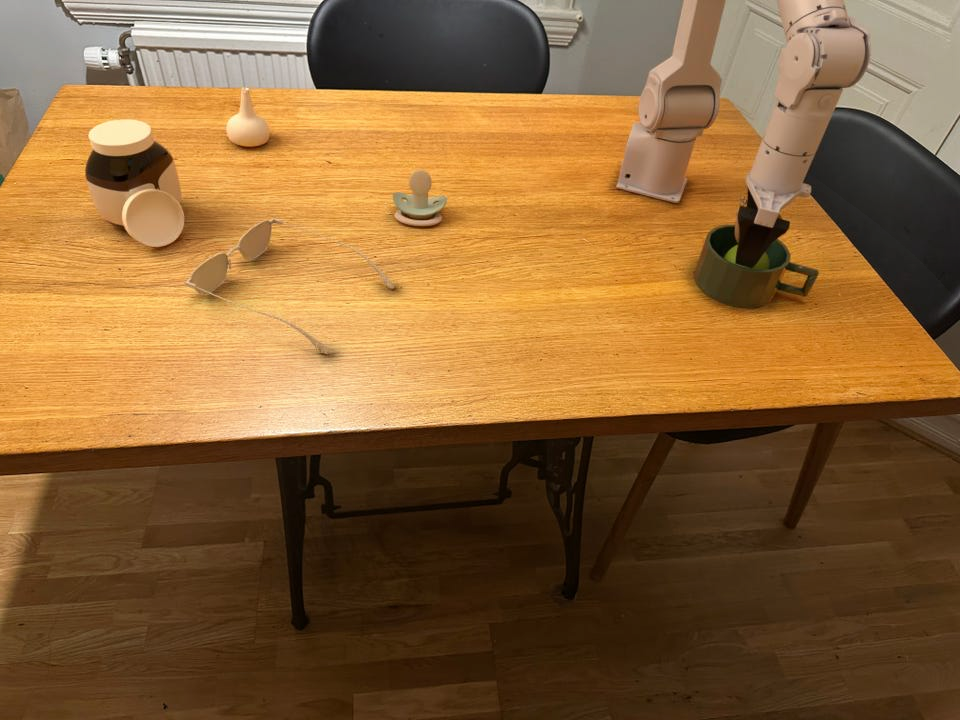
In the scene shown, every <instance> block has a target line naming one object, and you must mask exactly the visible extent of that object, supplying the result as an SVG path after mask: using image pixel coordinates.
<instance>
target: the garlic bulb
mask: <svg viewBox="0 0 960 720" xmlns="http://www.w3.org/2000/svg"><path fill="white" fill-rule="evenodd" d="M240 91H241V93H240V104H239V111H238V113H237V114H234V115H233V116H231V117H230V118H229V119H228V121H227V122H226V126H225V131H226V136H227V138H228V139H229V140H230V141H231V142H232V143H233V144H235V145H238V146H241V147H252V148H253V147H260V146H262V145H264V144H266V143H267V142H268V141H269V140H270V136H271V135H270V134H271V132H270V126H269V125H268V123H267V121H266V120H265V119H264V118H263V117H261V116H260V115H258V114H256V112H255V110H254V107H253V102H252V98H251V94H250V88H247V87H241V89H240Z"/></svg>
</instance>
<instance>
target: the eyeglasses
mask: <svg viewBox="0 0 960 720" xmlns="http://www.w3.org/2000/svg"><path fill="white" fill-rule="evenodd" d="M274 224H277V225H280V226H283V225H285V226H288V227H291V228H295V229H298V230H301V231H304V232H308V233H310V234H314V235H316V236H318V237H321V238H325V239H327V240H330V241H333V242H336V243H337V244H340V245H342V246H344V247H347V248H348V249H351V250H353V251H354V252H356V253H357V254H358V255H359V256H361V257H362V258H364V259H365V260H366V261H367V262H368V263H369V264H370V266H372V268H373V269H374V270H375V271H376V272H377V273H378V275H379V278H380V279H381V280H382V283H383V284H384V286H386V287H387V288H388V289H390V290H394V289H395V285H394V283H393V282H392V281H391V280H390V279H389V277H388V276H387V275H386V274H385V273H384V272H383V271H382V270H381V269H380V268H379V267H378V266H377V265H376V264H375V263H374V262H373V261H372V260H371V259H369V257H367V255H365V254H364V253H362V252H361V251H359V250H358V249H356V248H355V247H353V246H351V245H350V244H349V245H348V244H346V243H344V242H342V241H339V240H336V239H334V238H331V237H328V236H324V235H322V234H319V233H316V232H314V231H310V230H307V229H304V228H301V227H297V226H294V225H292V224H288V223H285V222H284V221H283V220H281V219H278V218H275V217H273V218H271V219H270V220H268V219H265V220H262V221H260V222H258V223H256V224H254V225H253V226H252V227H250V228H249V229H248V230H247V231H246V232H244V234H243V235H242V236H240V238H239V240H238V242H237V245H236V246H232V247H229V249H228V251H227V252H226V253H224V252H219V253H217V254H214V255H212V256H210V257H209V258H207V259H206V260H204V261H203V262H201V263H200V264H199V265H198V266H197V267H195V269H194V270H192V272H191V273H190V275H189V278H188V279H187V280H186V281H184V286H186V287H188V288H191V289H193V290H194V291H196V292H197V293H198V294H199V295H202V296H206V295H212V296H214V297H215V298H216V297H217V298H219V299H221V300H224V301H226V302H228V303H231V304H234V305H237V306H239V307H242V308H245V309H247V310H250V311H253V312H256V313H258V314H260V315H263V316H266V317H270V318H273V319H276V320H278V321H280V322H283V323H285V324H287V325H288V326H290V327H291V328H293V329H295V330H296V331H297V332H299V333H300V334H301V335H303V336H304V337H305V338H306V339H308V340H309V342H310V343H311V344H312V346H314V348H315V349H316V351H318V352H319V353H321V354H325V355H330V354H331V353H332V352H331V349H330V348H329V347H327V346H326V345H324V344H323V343H322V342H321V341H319V340H318V339H316V338H315V337H314V336H312V335H311V334H309V332H307V331H305V330H304V329H302V328H300V327H299V326H297V325H296V324H294V323H292V322H290V321H288V320H286V319H284V318H282V317H280V316H276V315H274V314H271V313H268V312H264V311H260V310H256V309H254V308H250V307H248V306H245V305H243V304H240V303H237V302H234V301H231V300H230V299H227V298H224V297H222V296H219V295H217V294H215V293H213V292H214V291H215V290H217V289H218V288H219V287H220V286H221V285H222V284H223V283H224V282H225V281H226V278H227V274H228V269H229V270H232V260H231V258H229V256H230V255H231V254H232V253H234V251H236V250H238V252H239V253H240V254H241V256H242V257H243V258H244V259H245V260H247V261H249V262H251V261H252V262H253V260H255V259H257V258H259V256H261V255H263V254H264V253H265V252H266V250H267V249H268V247H269V245H270V243H271V237H272V225H274Z"/></svg>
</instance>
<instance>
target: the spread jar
mask: <svg viewBox="0 0 960 720" xmlns="http://www.w3.org/2000/svg"><path fill="white" fill-rule="evenodd" d="M88 139H89V143H90V145H91V148H92V150H91V152H90V154H89V155H88V158H87V161H86V164H85V168H84V171H85V174H84V175H85V181H86V184H87V188H88V192H89V194H90V196H91V200H92V202H93V205H94V207H95V210H96V212H97V213H98V215H99V216H100V217H101V218H102V219H103V220H104V221H106V222H107V223H108V224H110V225H112V226H113V227H116V228H118V229H121V230H124V231H125V232H127V234H128V235H129V236H130V237H131V238H132V239H133V240H134V241H136V242H138V243H140V244H143V245H145V246H148V247H153V248H160V247H165V246H168V245H170V244H172V243H173V242H175V241H176V240H177V239H178V238H179V237H180V235H181V234H182V232H183V230H184V225H185V213H184V210H183V207H182V205H181V202H182V187H181V183H180V179H179V175H178V170H177V167H176V166H177V165H176V163H175V160H174V158H173V156H172V153H171V152H170V151H169V150H168V149H167V148H166V147H165V146H164V145H162V144H161V143H160V142H158V141H156V140H155V138H154V135H153V131H152V128H151V126H150V125H149V124H148V123H145V122H144V121H141V120H136V119H114V120H109V121H105V122H102V123H100V124H98V125H96V126H94V127H92V128H91V129H90V130H89V132H88Z"/></svg>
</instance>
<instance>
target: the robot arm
mask: <svg viewBox="0 0 960 720" xmlns="http://www.w3.org/2000/svg"><path fill="white" fill-rule="evenodd" d="M726 1H727V0H683V2H682V5H681V7H682V8H681V10H680V11H681V12H680V16H679V21H678V25H677V30H676V34H675V40H674V44H673V49H672V54H671V56H669V58H667V59H665V60H664V61H662V62H661V63H659V64H658V65H656V66H655V67H654V68H652V69H651V70H650V71H649V72H648V76H647V79H646V83H645V86H644V88H643V91H642V92H641V94H640V96H639V101H638V108H637V109H638V118H639V121H634V123H633V125H632V126H631V127H632V128H631V129H630V132H629V135H628V139H627V143H626V145H625V150H624V153H623V158H622V161H621V163H620V171H619V174H618V181H617V183H616V186H615V188H616V189H618V190H623V191H627V192H630V193H634V194H637V195H641V196H646V197H650V198H653V199H657V200H661V201H666V202H669V203H673V204H679V203H680V201H681V198H682V195H683V193H684V190H685V188H686V185H687V182H688V178H687V177H686V174H687V171H688V167H689V164H690V161H691V157H692V154H693V150H694V147H695V144H696V140H697V138H698V137H703V133H704V131H705V130H707V129H709V128H710V127H712V125H713V124H714V122H715V121H716V119H717V117H718V115H719V112H720V106H721V99H720V95H721V87H722V83H723V79H722V77H721V75H720V73H719V72H718V71H717V70H716V68H714V66H713V65H712V64H711V62H712V59H713V55H714V50H715V46H716V42H717V38H718V34H719V30H720V25H721V21H722V17H723V15H724V9H725V6H726ZM776 2H777V9H778V11H779V15H780V20H781V24H782V28H783V31H784V36H785V37H784V38H785V41H786V45H785V46H784V47H782V48H781V51H780V55H779V62H778V72H779V73H778V74H779V76H778V81H777V85H776V87H775V90H774V91H775V95H774V96H775V99H776V102H775V104H774V107H773V110H772V113H771V115H770V118H769V120H768V123H767V126H766V129H765V131H764V135H763V137H762V139H761V142H760V145H759V148H758V150H757V153H756V156H755V157H754V161H753V164H752V166H751V169H750V170H749V171H748V173H747V175H746V177H745V184H746V187H747V198H746V200H747V204H746V205H744V206H743V205H741V206H740V205H739V207H738V208H739V211H738V216H737V215H736V218H737V217H738V224H739V242H738V247H737V252H736V260H735V263H736V264H738V265H742V266H746V267H749V268H753V267H754V266H755V265H756V264H757V262H758V261H759V260H760V258H761V257H762V255H763V254H764V253H765V251H766V250H767V249H768V247H769V246H770V245H771V244H772V243H773V242H774V241H775V240H776V239H779V238H781V237H782V236H783V235H786V233H787V232H788V231H789V230H790V224H791V221H790V220H787V219H783V218H782V219H779V218H777V217H778V214H780V212H782V211H783V209H786V207H787V206H789V205H790V204H791V203H792V202H793V201H795V200H796V198H799V197H800V198H804V199H805V198H807V199H808V198H809V197H810V196H811V193H812V186H811V184H808V183H804V181H805V178H806V176H807V173H808V171H809V169H810V167H811V165H812V162H813V160H814V158H815V155H816V153H817V151H818V149H819V146H820V145H821V142H822V140H823V137H824V135H825V133H826V131H827V128H828V126H829V123H830V121H831V119H832V116H833V114H834V113H835V110H836V108H837V105H838V103H839V100H840V98H841V96H842V94H843V91H844V89H848V88H851V87H853V86H855V85H857V83H858V82H859V81H860V80H862V78H863V77H864V75H865V73H866V72H867V69H868V67H869V64H870V61H871V56H872V44H871V36H870V33H869V32H868V30H867V29H866V28H865V27H864V26H861V25H859V24H857V23H856V20H855V18H854V17H852V16H849V15H848V12H847V11H848V10H847V8H846V5H845V1H844V0H776Z"/></svg>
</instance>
